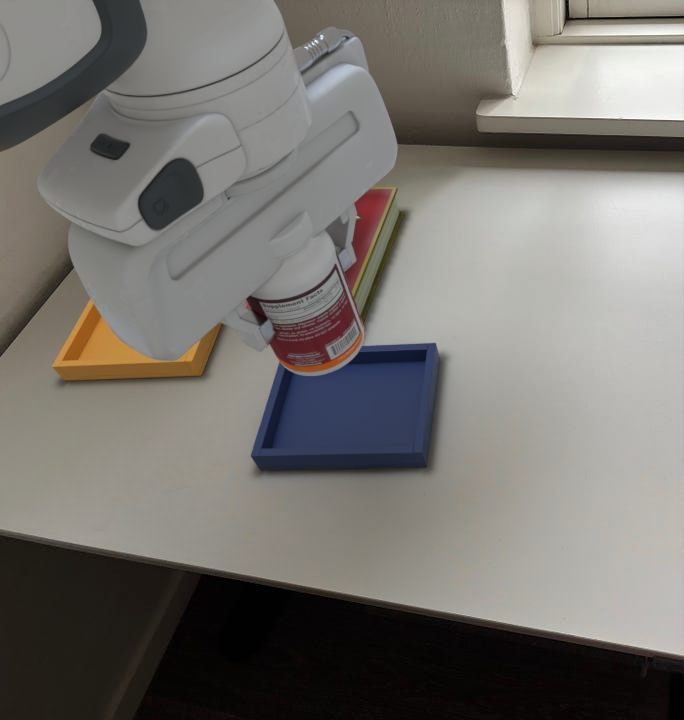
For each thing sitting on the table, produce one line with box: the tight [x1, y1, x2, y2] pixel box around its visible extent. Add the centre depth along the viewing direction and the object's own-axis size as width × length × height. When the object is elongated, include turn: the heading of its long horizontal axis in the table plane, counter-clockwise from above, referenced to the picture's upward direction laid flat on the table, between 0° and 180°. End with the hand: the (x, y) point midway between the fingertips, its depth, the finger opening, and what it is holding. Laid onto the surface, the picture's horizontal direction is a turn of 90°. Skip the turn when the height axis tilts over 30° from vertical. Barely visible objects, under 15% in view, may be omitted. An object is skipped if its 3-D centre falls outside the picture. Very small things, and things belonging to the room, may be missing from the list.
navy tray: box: [250, 342, 441, 471], centre depth 68 cm, size 16×13×2 cm
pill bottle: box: [245, 211, 365, 376], centre depth 45 cm, size 6×6×11 cm
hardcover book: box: [240, 186, 405, 323], centre depth 81 cm, size 12×21×4 cm, turn 170°
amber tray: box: [51, 298, 223, 382], centre depth 79 cm, size 16×14×2 cm
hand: (302, 302), depth 46 cm, fingers closed on pill bottle, 6 cm apart
